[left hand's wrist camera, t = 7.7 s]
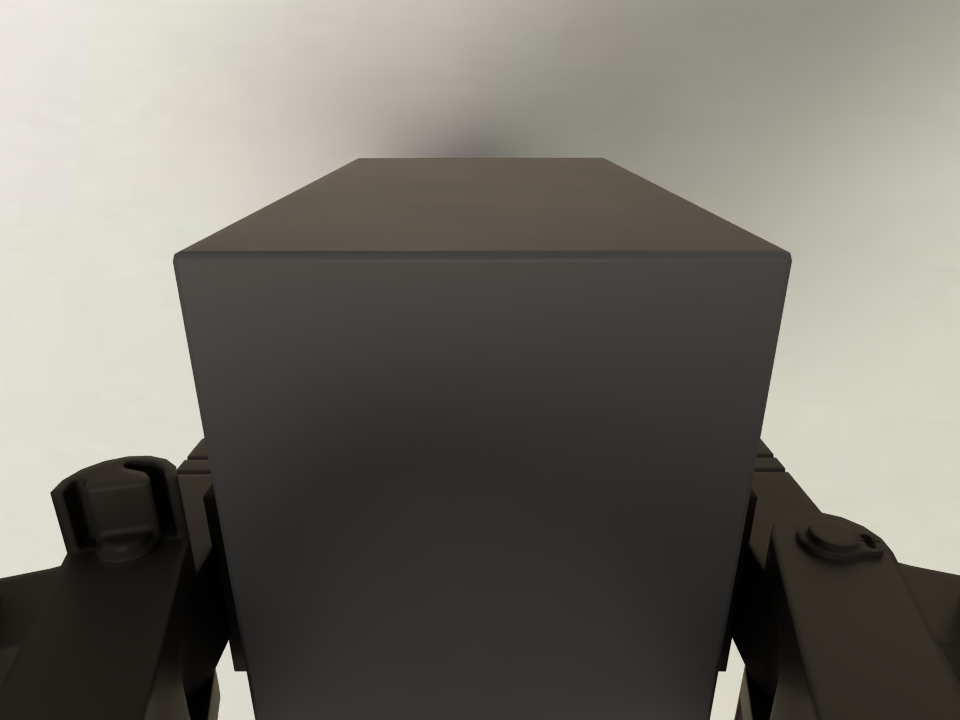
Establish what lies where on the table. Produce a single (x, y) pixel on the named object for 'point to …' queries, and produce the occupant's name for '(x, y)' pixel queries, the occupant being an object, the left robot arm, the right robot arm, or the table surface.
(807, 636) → the left robot arm
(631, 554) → the beam
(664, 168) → the table surface
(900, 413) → the table surface
